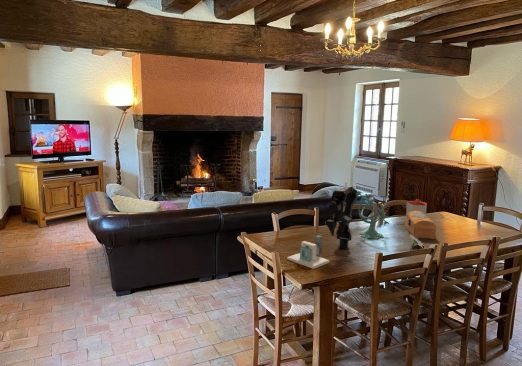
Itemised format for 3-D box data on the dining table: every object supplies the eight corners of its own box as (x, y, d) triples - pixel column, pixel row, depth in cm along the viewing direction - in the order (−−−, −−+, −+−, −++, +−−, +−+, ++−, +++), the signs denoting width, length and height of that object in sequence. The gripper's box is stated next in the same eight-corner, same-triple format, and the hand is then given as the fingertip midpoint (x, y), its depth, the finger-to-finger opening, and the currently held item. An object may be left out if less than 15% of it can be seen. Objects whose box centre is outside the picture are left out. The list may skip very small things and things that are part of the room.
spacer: (302, 257, 239) (302, 246, 238) (311, 260, 234) (311, 249, 233) (299, 258, 237) (300, 247, 236) (308, 261, 232) (309, 250, 231)
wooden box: (403, 227, 318) (404, 210, 316) (425, 228, 315) (426, 211, 313) (411, 238, 289) (412, 219, 287) (435, 239, 286) (437, 220, 284)
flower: (402, 245, 251) (411, 229, 276) (397, 251, 254) (406, 235, 278) (420, 259, 247) (427, 242, 272) (415, 265, 250) (422, 247, 275)
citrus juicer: (409, 218, 343) (411, 196, 340) (428, 223, 330) (431, 199, 327) (399, 221, 333) (401, 198, 330) (419, 226, 320) (421, 202, 317)
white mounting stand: (303, 253, 250) (304, 237, 248) (329, 262, 236) (330, 244, 234) (287, 259, 240) (287, 241, 238) (313, 268, 225) (314, 250, 224)
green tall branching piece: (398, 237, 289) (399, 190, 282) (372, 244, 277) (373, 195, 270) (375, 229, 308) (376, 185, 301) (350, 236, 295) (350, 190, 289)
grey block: (317, 253, 246) (318, 235, 244) (321, 254, 244) (322, 236, 242) (305, 257, 238) (306, 238, 236) (309, 258, 236) (310, 240, 234)
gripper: (340, 214, 233) (339, 240, 236) (358, 210, 246) (356, 234, 249) (325, 211, 241) (324, 236, 244) (343, 207, 254) (341, 230, 257)
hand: (337, 234), depth 248 cm, fingers open, 9 cm apart
